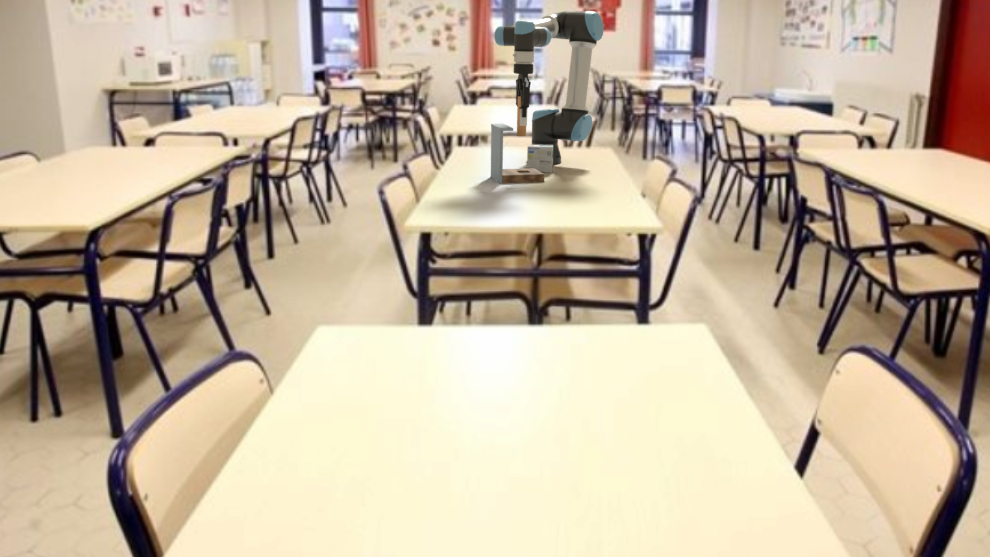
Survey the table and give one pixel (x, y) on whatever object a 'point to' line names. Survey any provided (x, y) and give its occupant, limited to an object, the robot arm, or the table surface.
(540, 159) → the light bulb box
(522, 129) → the peg
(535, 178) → the socket board
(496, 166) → the grey l-shaped bracket
